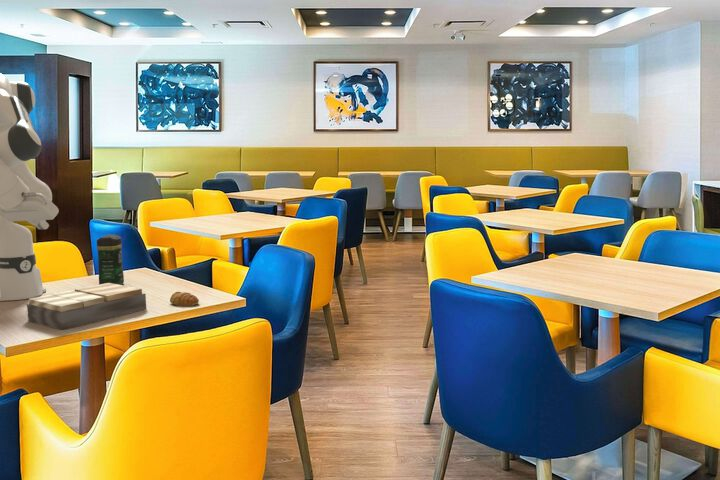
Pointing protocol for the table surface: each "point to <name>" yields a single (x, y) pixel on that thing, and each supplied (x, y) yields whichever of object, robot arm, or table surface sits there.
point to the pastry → (183, 299)
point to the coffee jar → (110, 259)
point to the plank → (111, 291)
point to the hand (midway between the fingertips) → (44, 227)
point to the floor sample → (79, 308)
